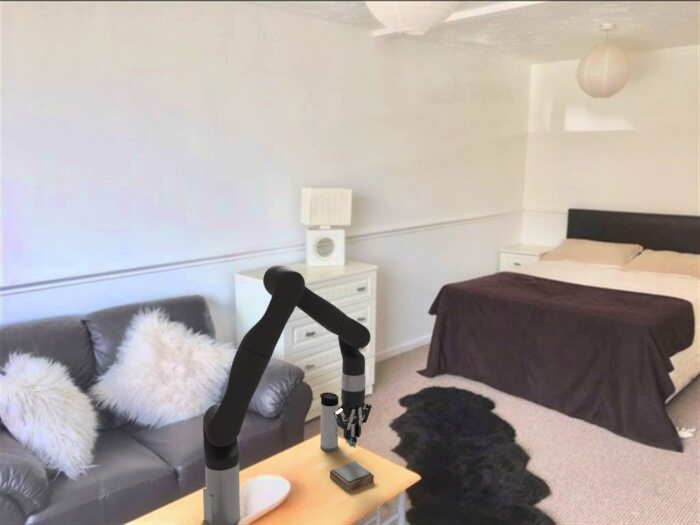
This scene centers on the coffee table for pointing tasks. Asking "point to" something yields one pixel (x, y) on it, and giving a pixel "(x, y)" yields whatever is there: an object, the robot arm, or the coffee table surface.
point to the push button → (352, 432)
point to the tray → (351, 476)
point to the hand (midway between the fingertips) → (352, 437)
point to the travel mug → (329, 422)
